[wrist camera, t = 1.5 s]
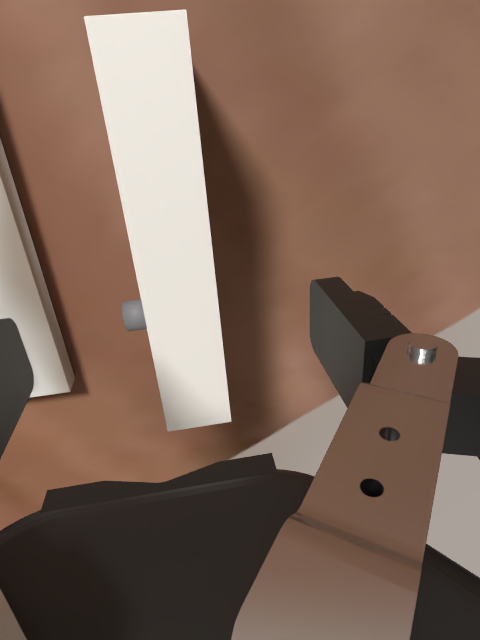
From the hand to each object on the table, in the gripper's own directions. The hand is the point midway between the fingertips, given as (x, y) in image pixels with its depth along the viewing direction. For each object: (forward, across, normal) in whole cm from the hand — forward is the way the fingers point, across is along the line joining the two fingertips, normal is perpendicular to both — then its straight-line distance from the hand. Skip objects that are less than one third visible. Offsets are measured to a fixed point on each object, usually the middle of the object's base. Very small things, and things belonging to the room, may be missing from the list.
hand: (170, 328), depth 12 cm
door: (+14, 0, 0) cm, 14 cm away
